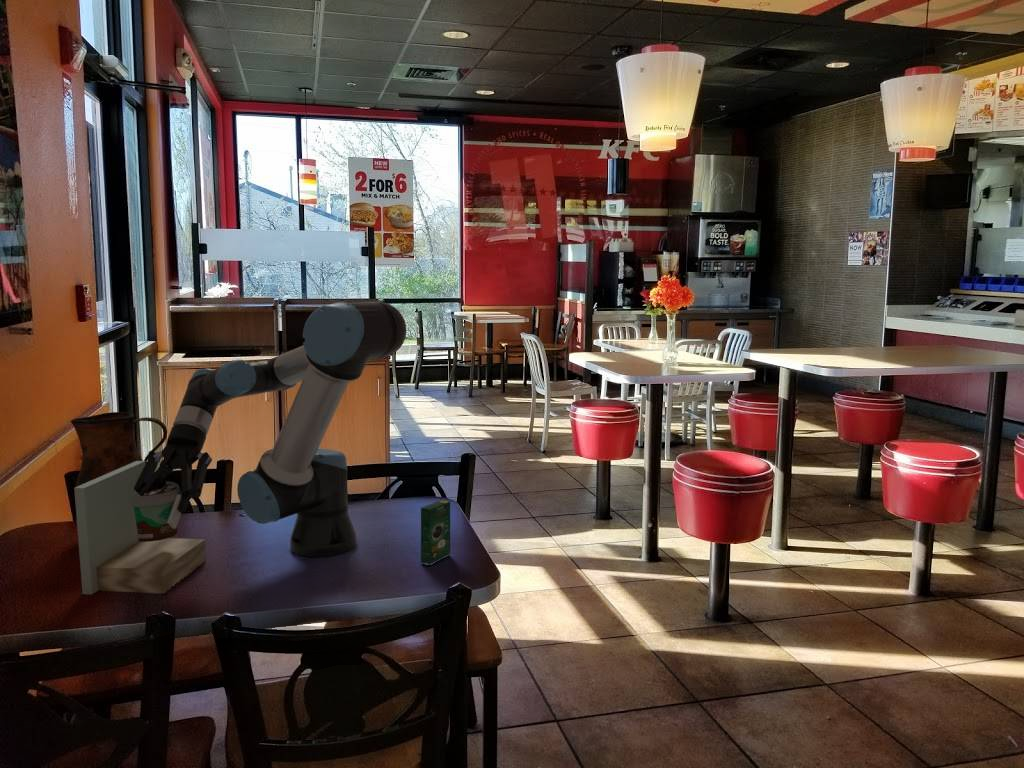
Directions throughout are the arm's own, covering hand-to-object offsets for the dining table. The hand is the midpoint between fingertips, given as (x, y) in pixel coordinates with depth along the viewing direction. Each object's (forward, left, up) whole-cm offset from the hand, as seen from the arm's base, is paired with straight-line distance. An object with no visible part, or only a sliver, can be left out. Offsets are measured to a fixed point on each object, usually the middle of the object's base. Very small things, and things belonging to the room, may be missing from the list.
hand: (155, 524), depth 165 cm
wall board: (+11, -3, -12) cm, 17 cm away
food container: (0, -4, -4) cm, 5 cm away
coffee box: (-55, -18, -13) cm, 60 cm away
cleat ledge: (+3, -3, -12) cm, 13 cm away
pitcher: (+23, -26, -13) cm, 37 cm away
